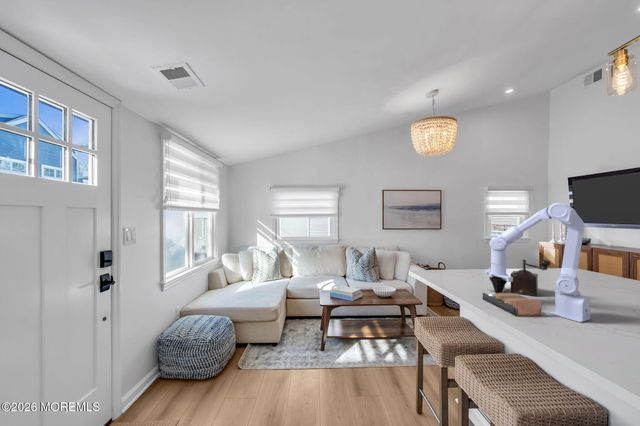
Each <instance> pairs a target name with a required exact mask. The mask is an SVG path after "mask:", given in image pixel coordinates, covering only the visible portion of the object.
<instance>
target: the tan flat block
mask: <svg viewBox="0 0 640 426" xmlns="http://www.w3.org/2000/svg"><path fill="white" fill-rule="evenodd" d="M495 294H496V298H497V299H500V300H502V301H504V302H506V303H508V304H510V305H512V306H513V300H524V299H529V298H527V297H526V296H525V297H524V295H523V296H522V295H521V294H516V293H511V292H502V293H495Z"/></svg>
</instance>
